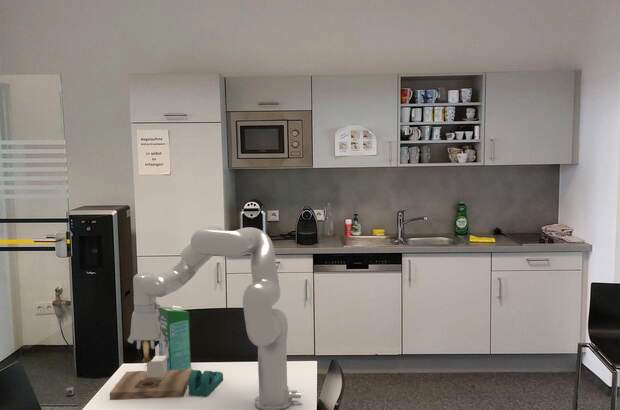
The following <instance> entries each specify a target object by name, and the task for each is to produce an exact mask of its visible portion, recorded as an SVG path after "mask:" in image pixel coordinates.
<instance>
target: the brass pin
mask: <svg viewBox="0 0 620 410" xmlns="http://www.w3.org/2000/svg"><path fill="white" fill-rule="evenodd" d="M150 348H151V342H150V340H145V341H142V352H143V359H142V362H143V363H145V364H147V362H151V361H152V360H150Z"/></svg>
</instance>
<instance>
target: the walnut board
mask: <svg viewBox="0 0 620 410" xmlns="http://www.w3.org/2000/svg"><path fill="white" fill-rule="evenodd" d="M192 370H194V369H191V368H189V369H184V370H167V372H166V374H165V376H164V377H150V378H147V370H138V371H137V370H136V371H125V373H124V374H123V376H122V377H121V378H120V379H119V381H117V383H116V384H115V385H114V387H113V388H112V389H111V390H110V392H109V400H110V401H113V400H114V401H115V400H118V401H119V400H139V399H140V400H142V399H143V400H144V399H165V398H167V399H168V398H171V399H172V398H184V396H185V394H186V391H187V389H188V388H189V376H190V373H191V371H192Z"/></svg>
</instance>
